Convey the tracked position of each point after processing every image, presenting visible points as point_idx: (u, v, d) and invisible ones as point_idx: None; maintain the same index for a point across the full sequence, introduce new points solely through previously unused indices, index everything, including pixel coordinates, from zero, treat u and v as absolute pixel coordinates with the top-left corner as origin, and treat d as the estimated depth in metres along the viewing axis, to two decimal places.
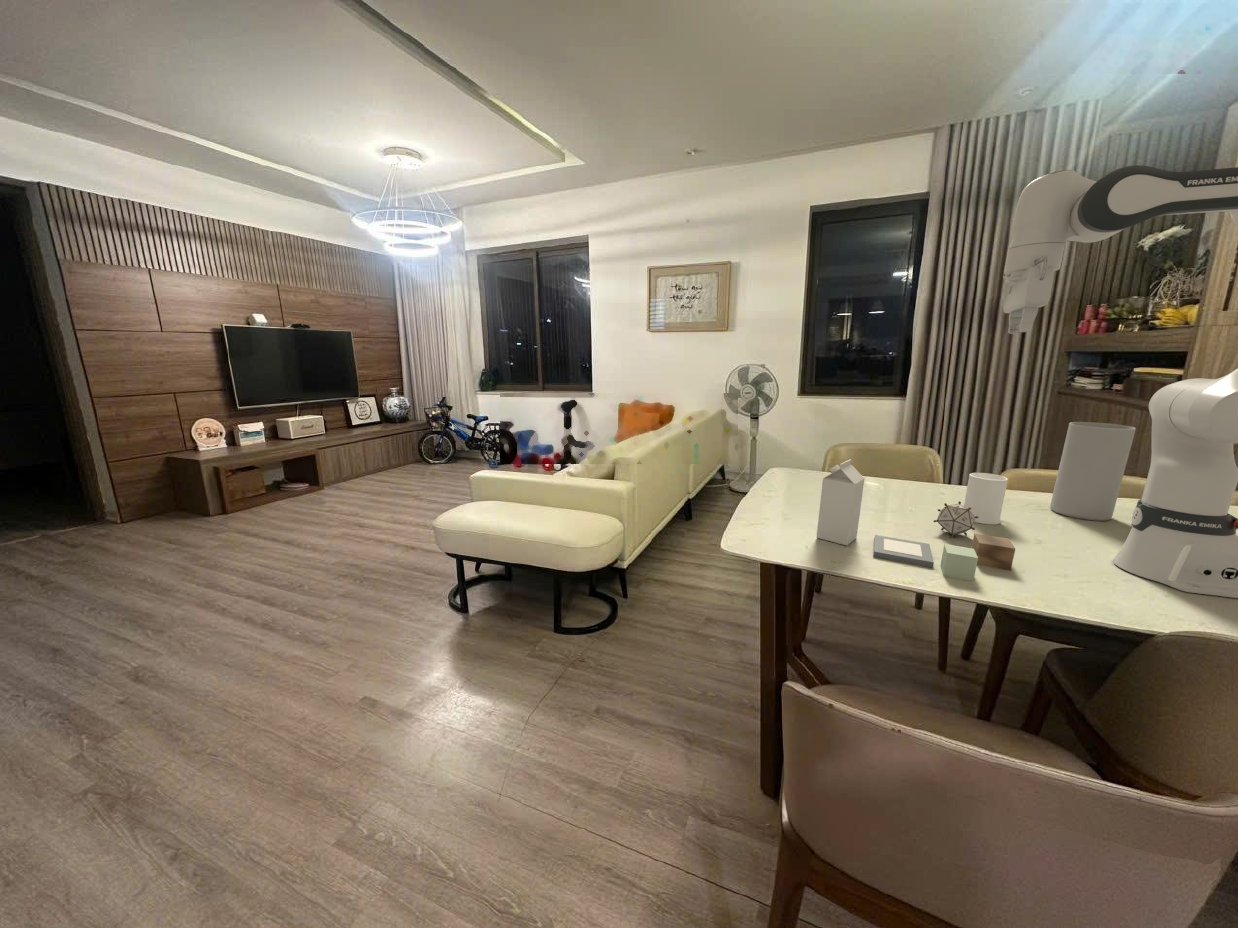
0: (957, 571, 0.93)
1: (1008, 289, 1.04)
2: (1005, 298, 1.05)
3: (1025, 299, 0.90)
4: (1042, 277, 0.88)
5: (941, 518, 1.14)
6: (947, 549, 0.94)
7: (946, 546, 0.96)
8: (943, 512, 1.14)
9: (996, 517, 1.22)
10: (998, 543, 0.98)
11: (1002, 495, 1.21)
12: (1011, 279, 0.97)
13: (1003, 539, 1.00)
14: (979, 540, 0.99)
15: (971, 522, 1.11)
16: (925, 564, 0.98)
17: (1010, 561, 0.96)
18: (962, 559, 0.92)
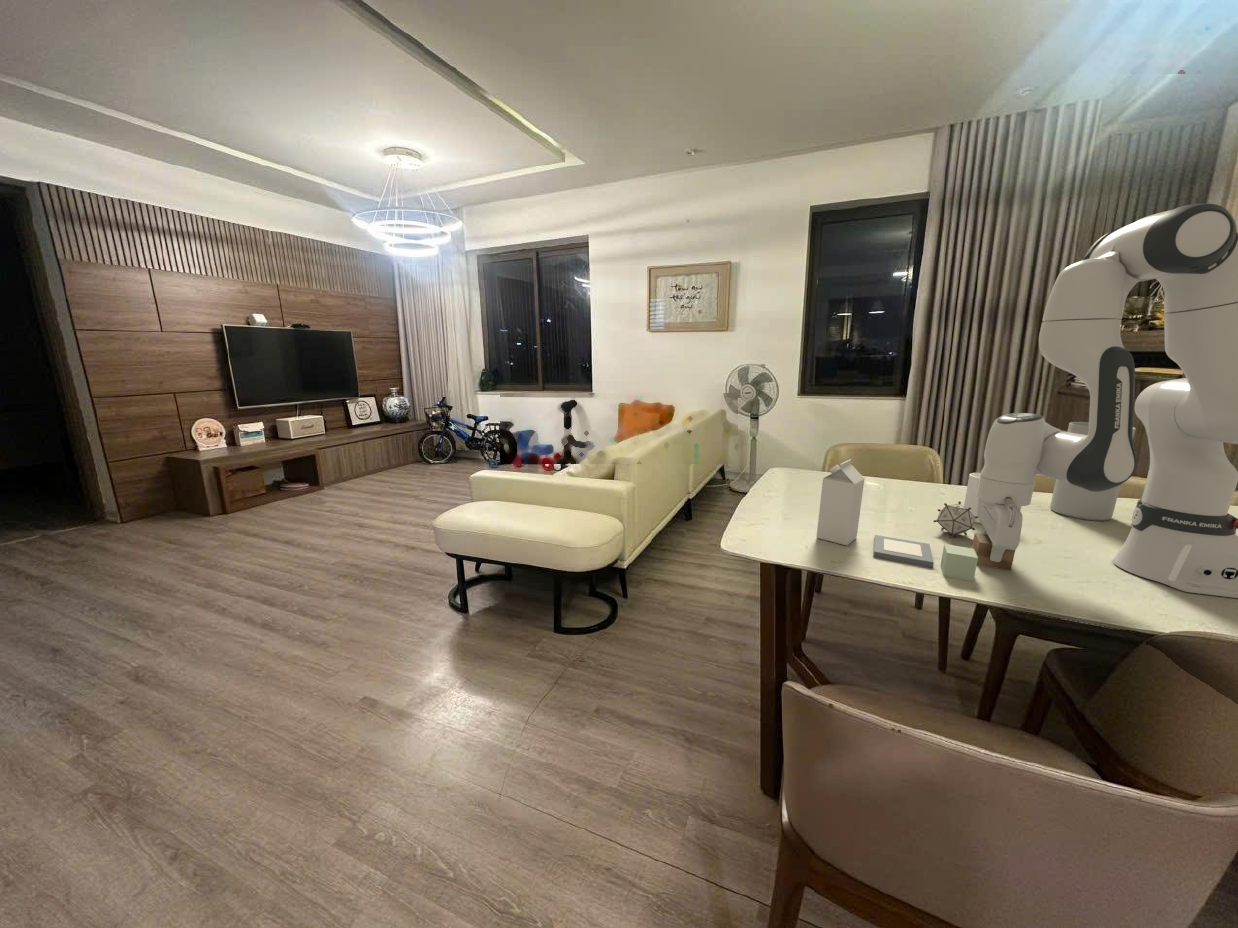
0: (957, 571, 0.93)
1: (981, 499, 1.05)
2: (979, 506, 1.06)
3: (995, 541, 0.91)
4: (1011, 525, 0.89)
5: (941, 518, 1.14)
6: (947, 549, 0.94)
7: (946, 546, 0.96)
8: (943, 512, 1.14)
9: None
10: None
11: None
12: (983, 504, 0.98)
13: None
14: (979, 539, 0.99)
15: (971, 522, 1.11)
16: (925, 564, 0.98)
17: (1010, 560, 0.96)
18: (962, 559, 0.92)
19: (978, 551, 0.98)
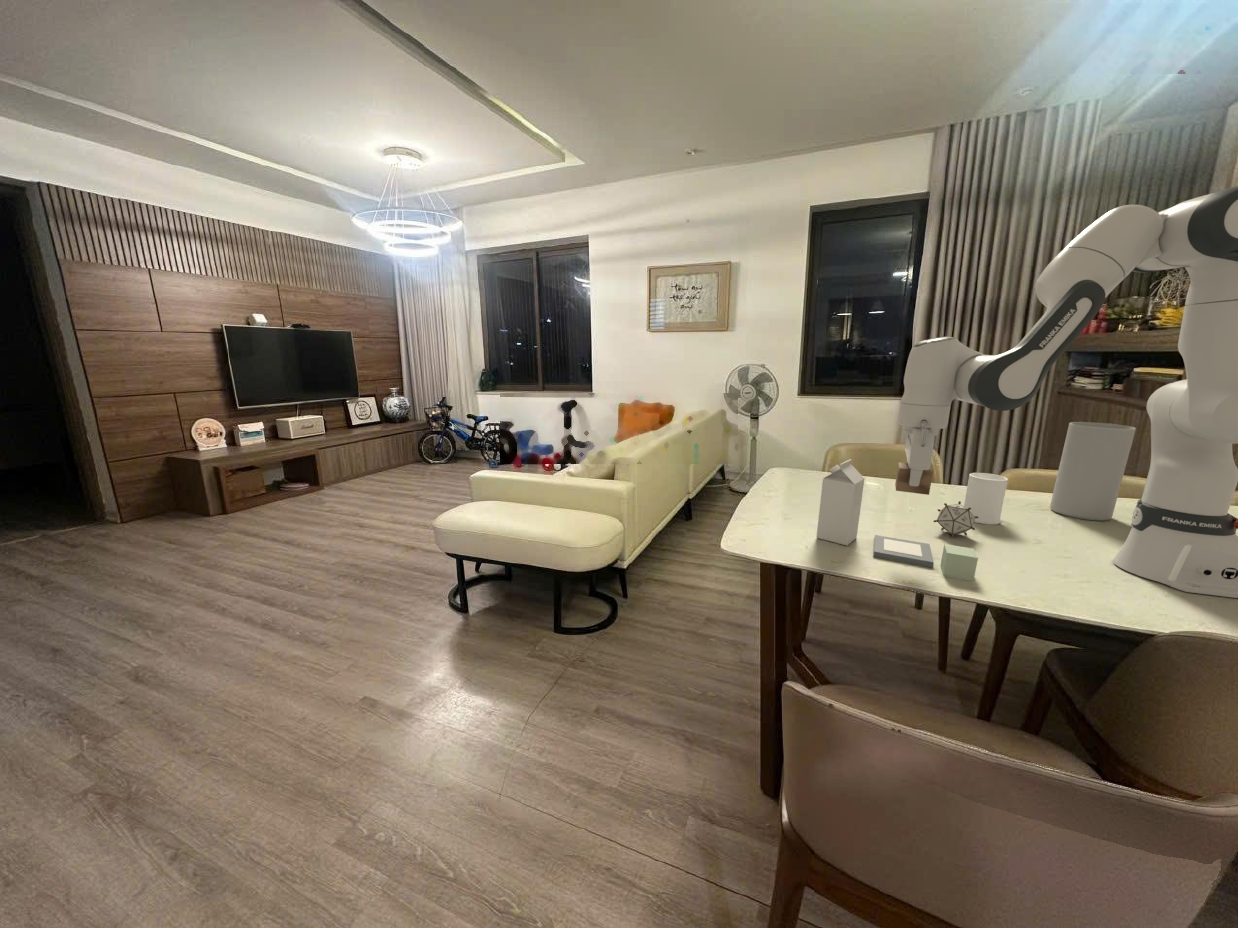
0: (957, 571, 0.93)
1: None
2: (906, 439, 1.07)
3: (909, 462, 0.92)
4: (923, 445, 0.90)
5: (941, 518, 1.14)
6: (947, 549, 0.94)
7: (946, 546, 0.96)
8: (943, 512, 1.14)
9: (996, 517, 1.22)
10: None
11: (1002, 495, 1.21)
12: (903, 431, 0.99)
13: None
14: (900, 466, 1.00)
15: (971, 522, 1.11)
16: (925, 564, 0.98)
17: (928, 485, 0.97)
18: (962, 559, 0.92)
19: (898, 477, 0.99)
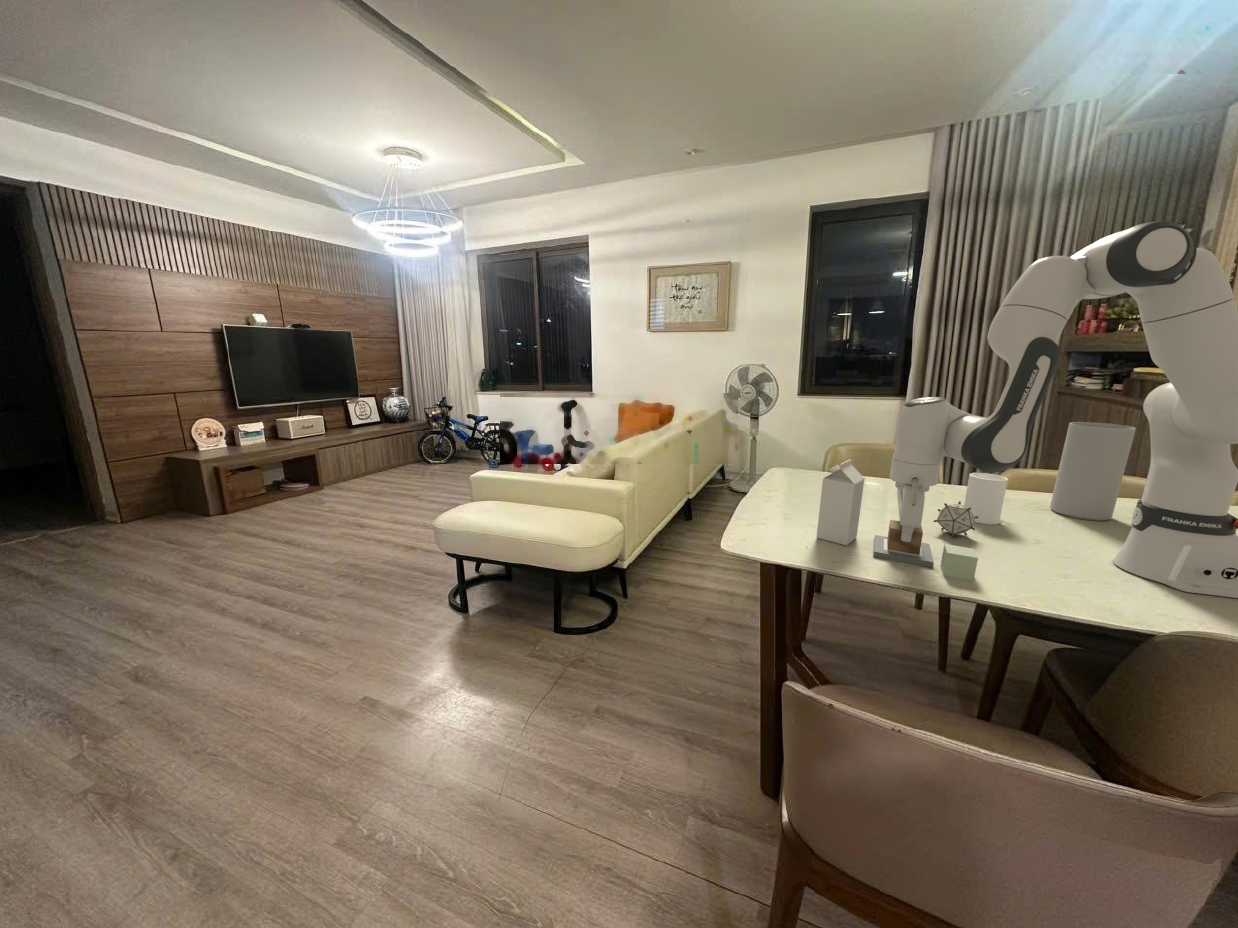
0: (957, 571, 0.93)
1: None
2: (898, 489, 1.10)
3: (900, 520, 0.95)
4: (913, 504, 0.93)
5: (941, 518, 1.14)
6: (947, 549, 0.94)
7: (946, 546, 0.96)
8: (943, 512, 1.14)
9: (996, 517, 1.22)
10: None
11: (1002, 495, 1.21)
12: (895, 485, 1.02)
13: None
14: (892, 525, 1.03)
15: (971, 522, 1.11)
16: (925, 564, 0.98)
17: (918, 545, 1.00)
18: (962, 559, 0.92)
19: (890, 537, 1.02)
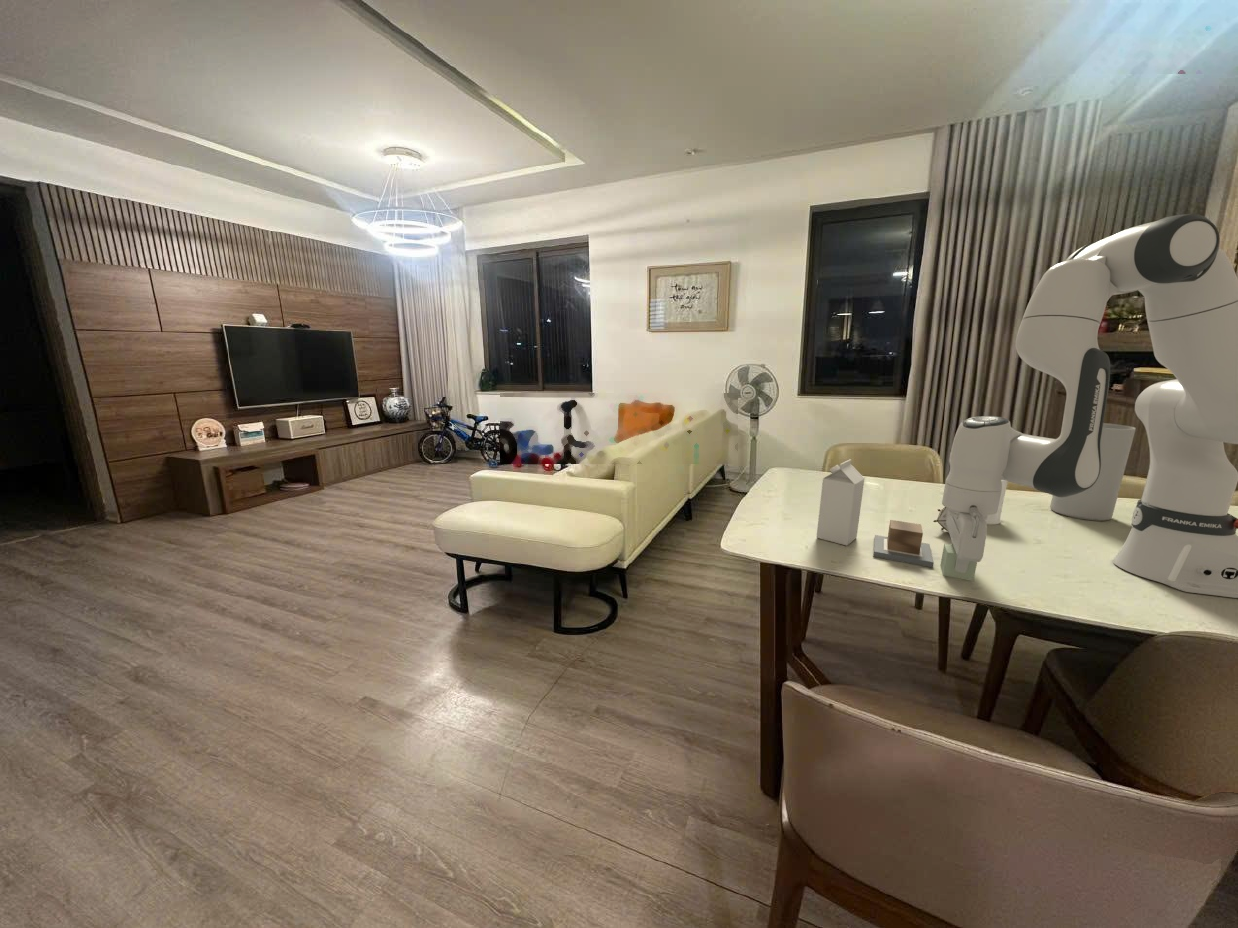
0: None
1: None
2: (948, 514, 1.01)
3: (958, 552, 0.86)
4: (974, 536, 0.84)
5: (941, 518, 1.14)
6: (947, 549, 0.94)
7: (946, 546, 0.96)
8: (943, 512, 1.14)
9: (996, 517, 1.22)
10: (908, 528, 1.02)
11: (1002, 495, 1.21)
12: (949, 513, 0.93)
13: (915, 525, 1.04)
14: (892, 525, 1.03)
15: None
16: (925, 564, 0.98)
17: (918, 545, 1.00)
18: None
19: (890, 537, 1.02)
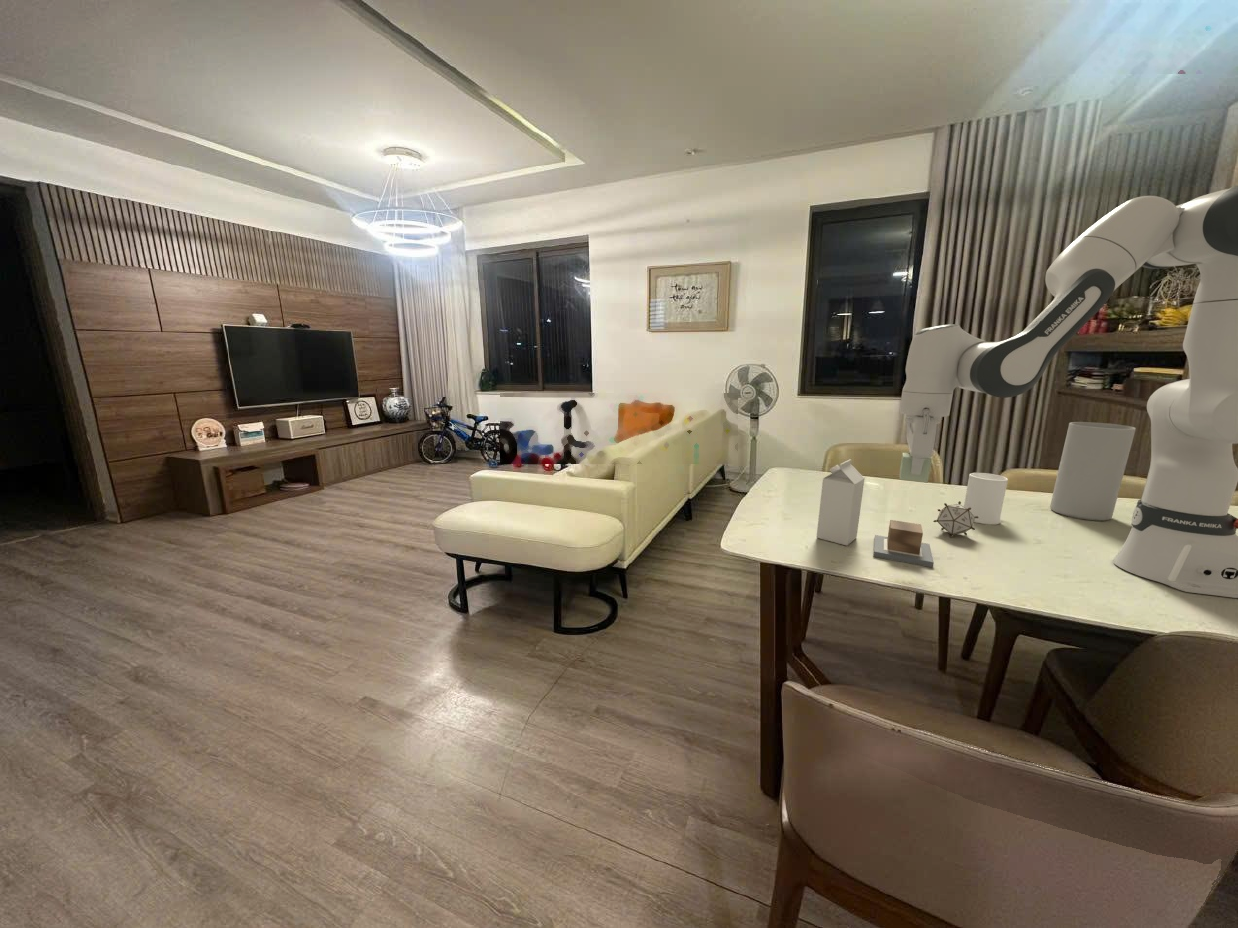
0: (913, 474, 0.98)
1: None
2: (907, 428, 1.06)
3: (911, 450, 0.91)
4: (925, 432, 0.89)
5: (941, 518, 1.14)
6: (904, 455, 1.00)
7: (904, 453, 1.01)
8: (943, 512, 1.14)
9: (996, 517, 1.22)
10: (908, 528, 1.02)
11: (1002, 495, 1.21)
12: (905, 420, 0.98)
13: (915, 525, 1.04)
14: (892, 525, 1.03)
15: (971, 522, 1.11)
16: (925, 564, 0.98)
17: (918, 545, 1.00)
18: None
19: (890, 537, 1.02)
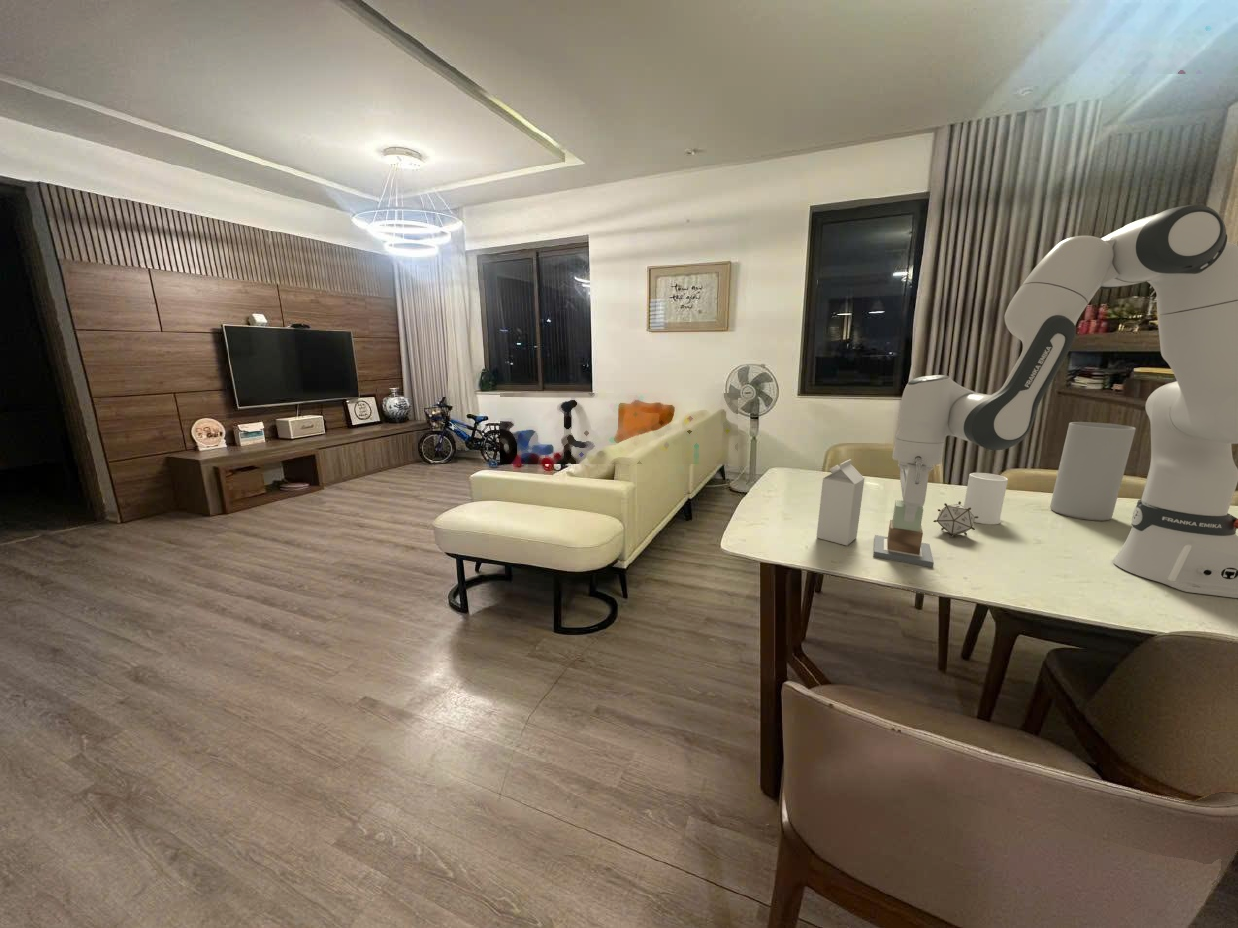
0: (905, 523, 1.01)
1: None
2: (901, 470, 1.09)
3: (903, 498, 0.94)
4: (917, 482, 0.92)
5: (941, 518, 1.14)
6: (897, 503, 1.02)
7: (896, 501, 1.04)
8: (943, 512, 1.14)
9: (996, 517, 1.22)
10: None
11: (1002, 495, 1.21)
12: (898, 465, 1.01)
13: None
14: (892, 525, 1.03)
15: (971, 522, 1.11)
16: (925, 564, 0.98)
17: (918, 545, 1.00)
18: None
19: (890, 537, 1.02)
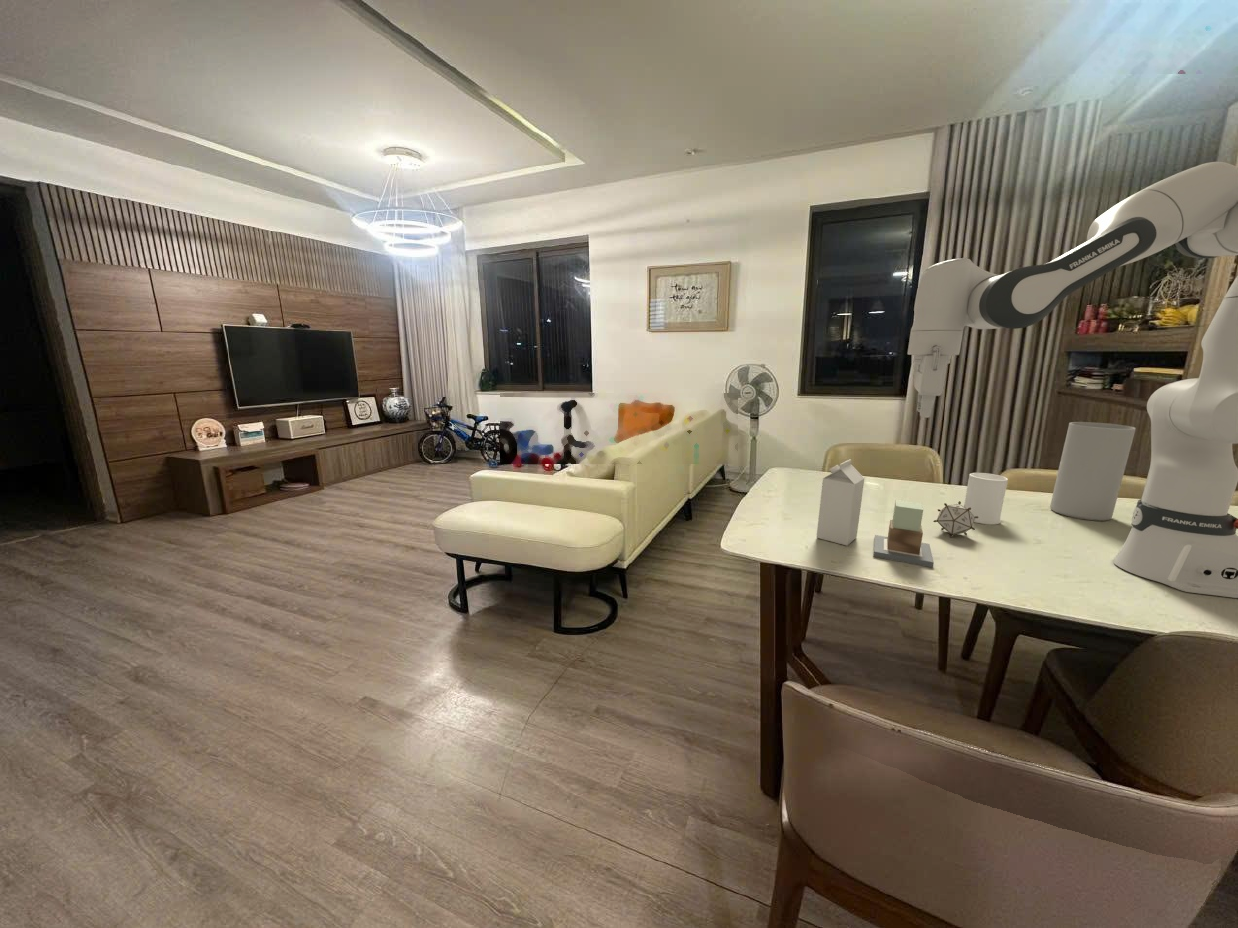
0: (905, 523, 1.01)
1: (917, 366, 1.02)
2: (915, 375, 1.04)
3: (920, 388, 0.89)
4: (935, 368, 0.86)
5: (941, 518, 1.14)
6: (897, 503, 1.02)
7: (896, 501, 1.04)
8: (943, 512, 1.14)
9: (996, 517, 1.22)
10: None
11: (1002, 495, 1.21)
12: (914, 361, 0.96)
13: None
14: (892, 525, 1.03)
15: (971, 522, 1.11)
16: (925, 564, 0.98)
17: (918, 545, 1.00)
18: (909, 511, 1.00)
19: (890, 537, 1.02)
